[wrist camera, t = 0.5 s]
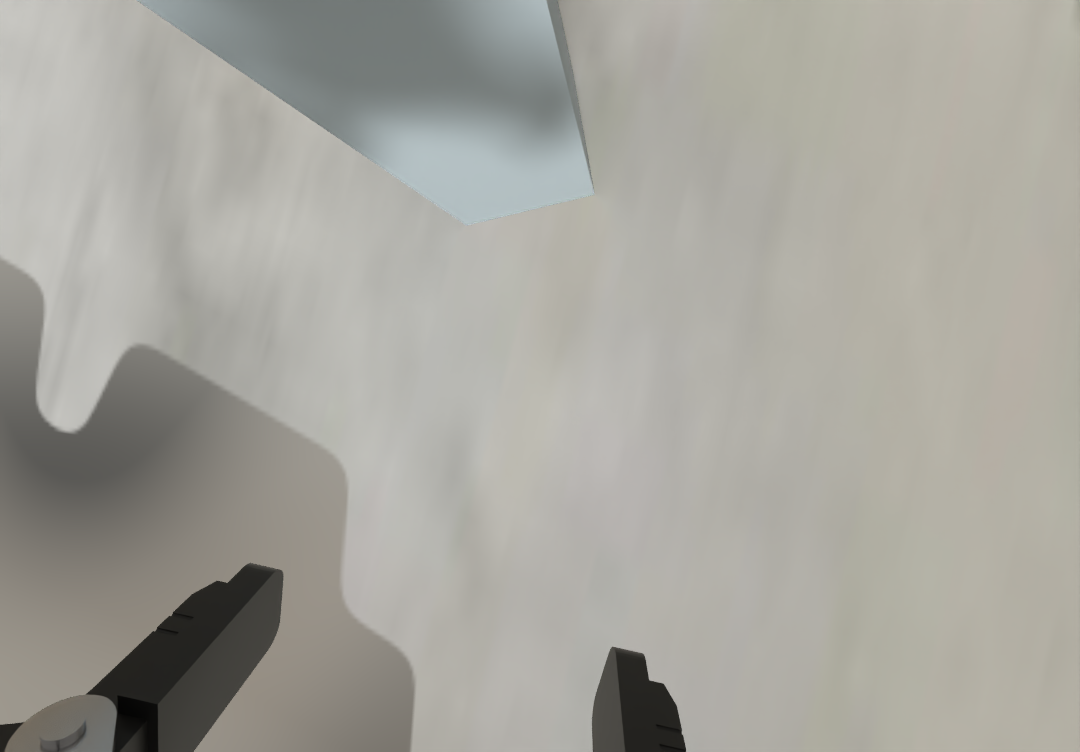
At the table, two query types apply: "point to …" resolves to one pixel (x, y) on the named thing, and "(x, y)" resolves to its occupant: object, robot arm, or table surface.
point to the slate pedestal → (419, 89)
